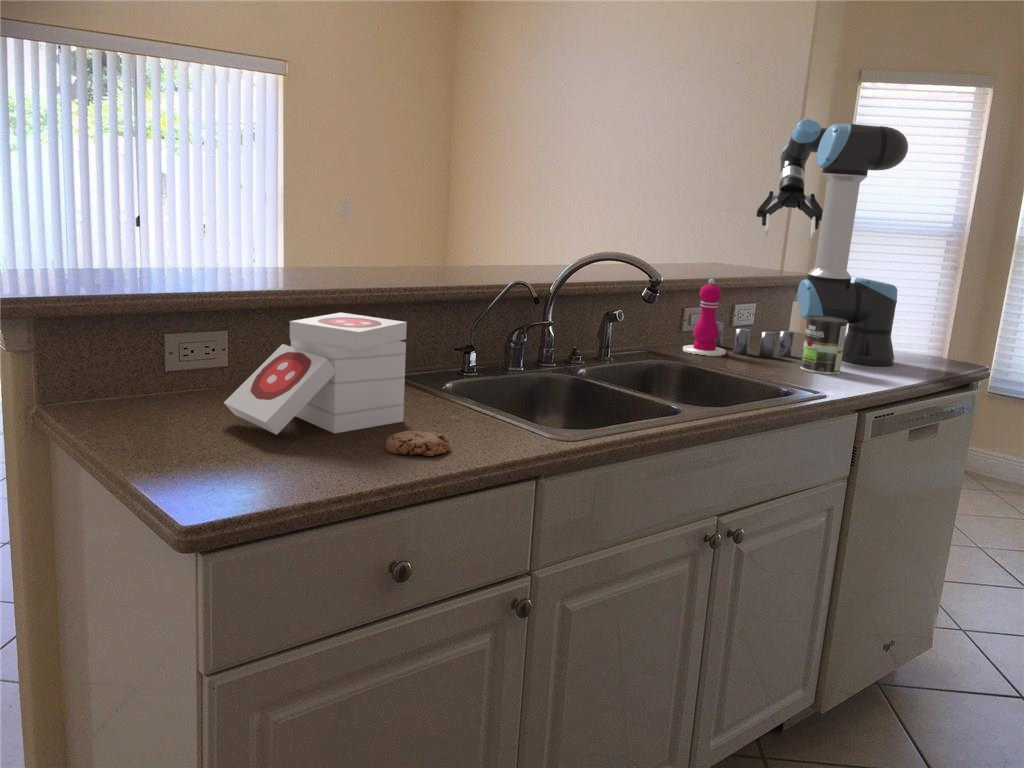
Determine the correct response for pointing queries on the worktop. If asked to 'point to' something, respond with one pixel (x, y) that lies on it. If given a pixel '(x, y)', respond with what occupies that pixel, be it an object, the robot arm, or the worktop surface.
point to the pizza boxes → (329, 376)
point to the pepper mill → (707, 318)
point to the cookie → (417, 443)
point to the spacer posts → (765, 343)
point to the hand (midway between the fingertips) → (789, 234)
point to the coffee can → (823, 345)
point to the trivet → (702, 352)
